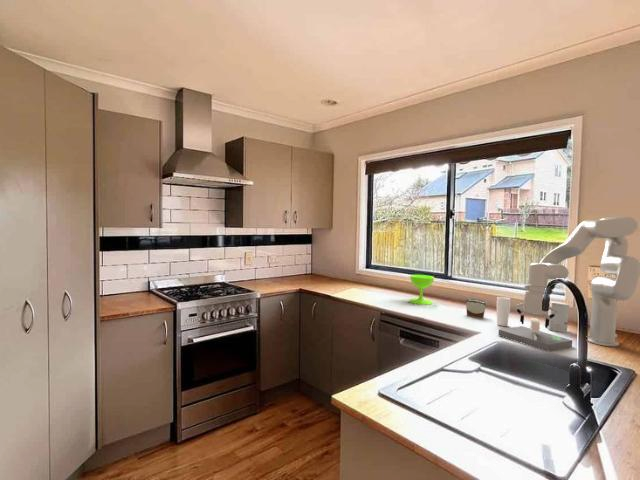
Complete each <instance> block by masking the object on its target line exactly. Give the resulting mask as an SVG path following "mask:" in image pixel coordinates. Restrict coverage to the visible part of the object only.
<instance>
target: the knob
mask: <svg viewBox="0 0 640 480" xmlns="http://www.w3.org/2000/svg"><path fill="white" fill-rule="evenodd" d="M540 324H541V323H540V320H539V318H536V317H535V318H534V317H530V324H529V325H530V327H529V328H530V329H531V332H532V334H533V335H534V339H537V336H536V335H537V333H539V331H540V327H541V326H540Z"/></svg>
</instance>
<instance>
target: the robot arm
mask: <svg viewBox="0 0 640 480" xmlns="http://www.w3.org/2000/svg"><path fill="white" fill-rule="evenodd" d="M638 227H639V224H638V221H637V220H636V219H635V218H634V217H631V216H608V217H607V216H605V217H603V218H600V219H587V220H583V221H582V222H581V223H579V224H578V226H577V227H576V228H575V229H574V230H573V232H572V233H571V234H570V235H569V237H567V239H566V240H565V242H564V243H562V244H560V245H559V246H557V247H555V248H554V249H552V250H551V251H549V252H548V253H547V254H546V255H545V256H544V257H543V258H542V259H541V261H540V262H531V263H530V265H529V270H528V283H527V285H524V289H525V290H526V291H525V293H524V294H525V295H524V297H523V302H520V303H517V304H514V308H515V309H516V313H518V314H519V315H520V320H519V322H521V325H524V324H525V323H524V321H525V314H526V313H527V314H532V315H533V314H534V315H539V316H545V320H544V321H545V323H544V327H545V329H548V328H547V326H549V321H550V319H551V318H553V317H554V316H555V315H556V313H557V310H555V309H553V308H552V307H550V306H549V310H551V311H553V313H552V314H551V315H548V312H549V310H548V311H547V312H543V311H542V309H541V306H542V298H543V295H544V291H545V288H546V286H547V287H548V280H553V279H556V278H564V280H565V279H567V278H568V276H569V274H570V273H569V269H568V268H567V267H566V266H565V265H563V264H560V263H561V262H563V261H565V260H568V259H570V258H575V257H578V256H580V255H582V254H583V253H584V252H585V251H586V250H587V249H588V247H589V246H590V244H591V243H592V242H593V241H594V240H595V239H604V242H605V245H604V250H603V253H602V257H601V260H600V264H599V265H600V266H599V267H600V270H601V272H603V273H604V274H608V275H611V276H597V277H595V278H593V279H592V280H591V283H590V293H591V312H590V326H589V335H587V336H588V341H587V342H589V343H592V344H595V345H598V346H605V347H619V342H618V341H616V340H615V339H616V338H617V337H618V334H617V333H616V327H617V315H618V313H617V312H618V305H617V301H616V300H618V301H622V302H623V301H629V300H630V299H631V298H633V296H634V295H635V292H636V289H637V286H638V284H639V279H640V261H639V260H638V259H637V258H636V257H634V256H629V255H628V251H629V241H628V239H627V237H626V236H630V235H633V234H635V232H636V231H637V230H638ZM612 275H613V276H616V277H612ZM520 307H522V310H521V309H520Z"/></svg>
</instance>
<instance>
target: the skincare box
mask: <svg viewBox="0 0 640 480" xmlns="http://www.w3.org/2000/svg"><path fill="white" fill-rule="evenodd" d="M549 301H550V300H549ZM550 307H552V308H553V309H555V310H557V313H556V315H555V316H554V317H553V318H551V319H550V321H549V326H547V328H546V329H548V331H553V332H561V333H567V332H568V326H569V325H568V324H569V323H568V322H569V314H570V313H569V312H570V304H569V303H567V302H566V303H565V302H560V301H553V300H552V301H550ZM552 313H553V311H551V310H549V311H548V315H551V314H552Z"/></svg>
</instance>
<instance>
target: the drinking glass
mask: <svg viewBox="0 0 640 480" xmlns="http://www.w3.org/2000/svg"><path fill="white" fill-rule="evenodd" d="M511 301H512V299H511V298H510V297H506V296H505V297H504V296H497V297H496V324H497V326H499V327H508V324H509V318H510V312H511Z"/></svg>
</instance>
